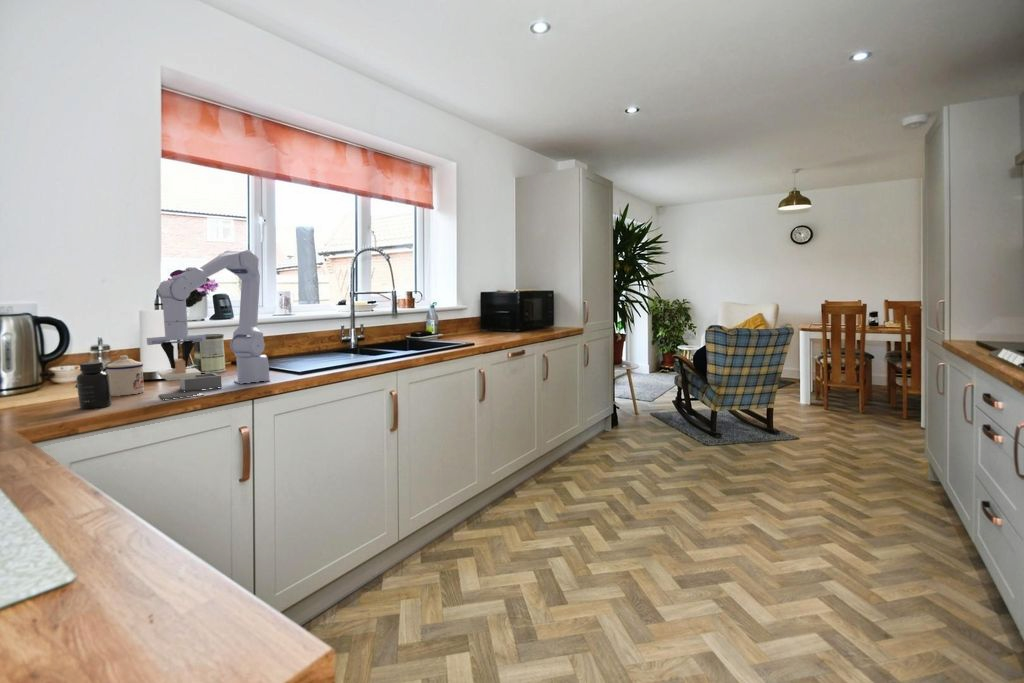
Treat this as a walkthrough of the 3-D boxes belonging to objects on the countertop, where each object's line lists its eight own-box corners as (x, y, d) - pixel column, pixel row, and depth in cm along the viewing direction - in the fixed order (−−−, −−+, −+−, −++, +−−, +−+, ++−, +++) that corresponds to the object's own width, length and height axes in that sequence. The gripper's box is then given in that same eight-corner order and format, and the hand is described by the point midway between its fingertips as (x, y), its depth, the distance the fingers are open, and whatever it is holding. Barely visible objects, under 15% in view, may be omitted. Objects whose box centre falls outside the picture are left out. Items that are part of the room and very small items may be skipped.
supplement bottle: (91, 404, 144) (87, 361, 143) (117, 403, 145) (113, 360, 144) (72, 410, 138) (68, 364, 136) (100, 409, 138) (96, 364, 137)
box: (215, 384, 173) (214, 372, 173) (221, 388, 167) (220, 375, 167) (180, 388, 166) (179, 376, 166) (185, 392, 160) (184, 379, 160)
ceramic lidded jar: (141, 395, 157) (138, 356, 156) (104, 397, 153) (100, 358, 152) (150, 388, 168) (147, 352, 167) (115, 390, 164) (112, 353, 163)
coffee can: (188, 373, 198) (186, 336, 196) (207, 369, 208) (204, 333, 206) (214, 373, 196) (211, 336, 195) (231, 369, 207) (229, 333, 205)
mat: (197, 391, 162) (196, 390, 162) (203, 395, 155) (203, 394, 155) (158, 395, 155) (158, 394, 155) (163, 400, 149) (163, 399, 149)
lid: (195, 373, 161) (194, 356, 160) (201, 377, 155) (200, 360, 155) (158, 377, 154) (157, 359, 154) (162, 381, 149) (161, 363, 148)
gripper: (148, 323, 145) (151, 371, 147) (207, 320, 155) (210, 366, 156) (144, 322, 151) (147, 369, 152) (201, 320, 160) (204, 364, 162)
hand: (179, 367), depth 154 cm, fingers closed on lid, 2 cm apart
